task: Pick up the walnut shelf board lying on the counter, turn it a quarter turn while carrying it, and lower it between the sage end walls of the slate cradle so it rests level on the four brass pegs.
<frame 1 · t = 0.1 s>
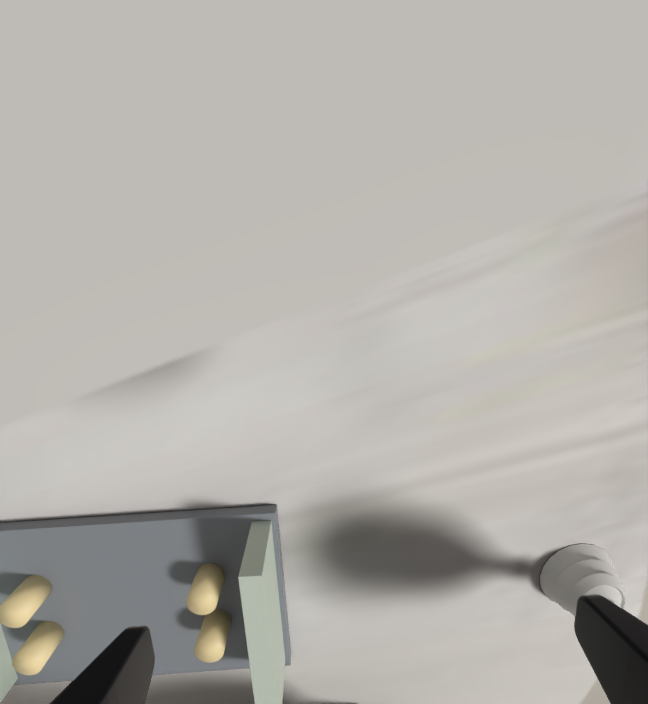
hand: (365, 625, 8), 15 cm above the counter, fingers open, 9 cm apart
chalice: (574, 572, 26), on the counter
peg cradle: (135, 593, 25), on the counter
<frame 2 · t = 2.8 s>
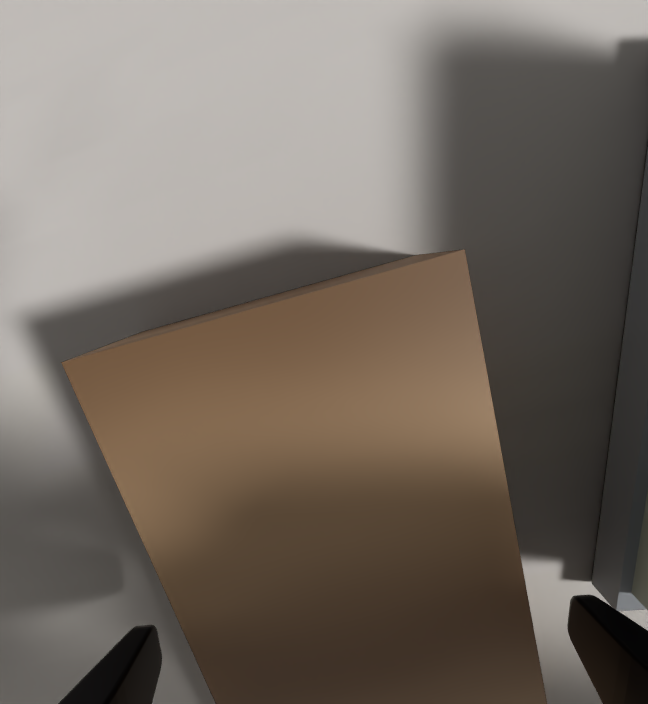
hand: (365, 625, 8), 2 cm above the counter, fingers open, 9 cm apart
shelf board: (356, 551, 10), on the counter
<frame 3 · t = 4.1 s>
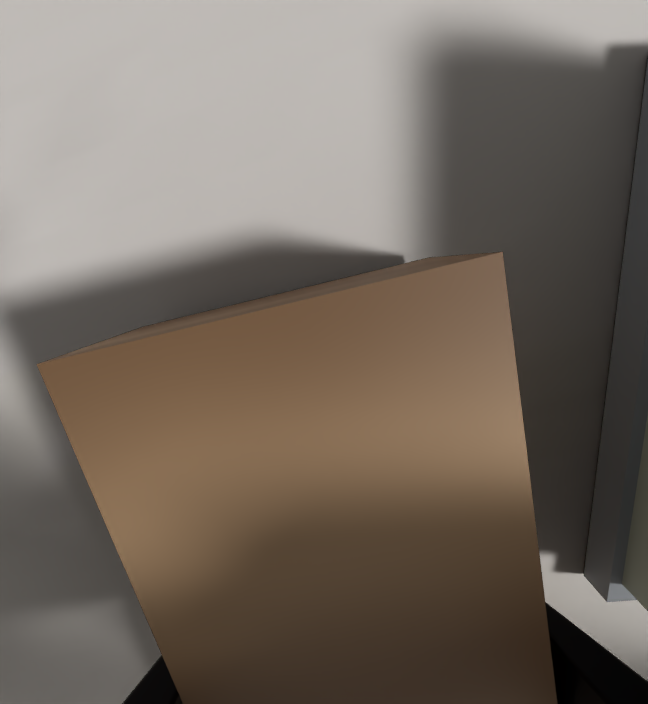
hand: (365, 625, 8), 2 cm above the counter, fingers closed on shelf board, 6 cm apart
shelf board: (356, 572, 9), on the counter, touching gripper
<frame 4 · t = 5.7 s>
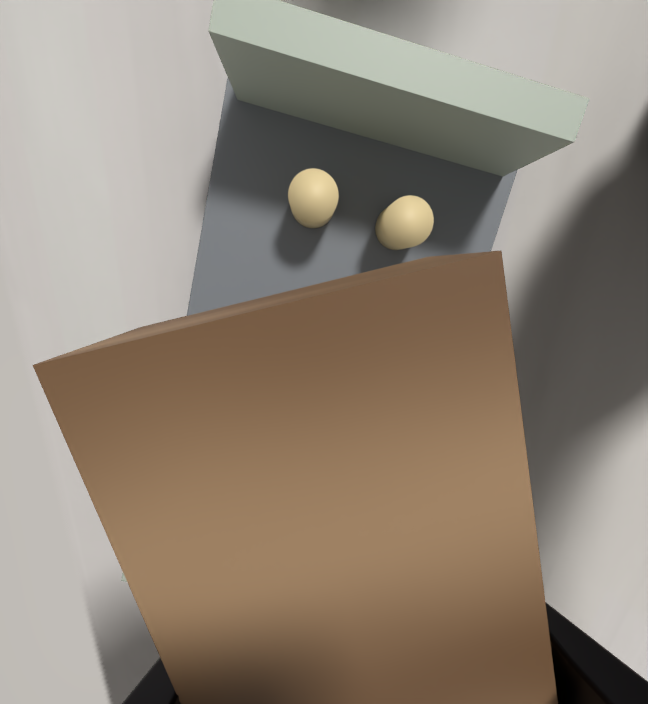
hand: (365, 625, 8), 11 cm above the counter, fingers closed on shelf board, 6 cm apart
peg cradle: (322, 340, 17), on the counter
shelf board: (356, 572, 9), point 9 cm above the counter, touching gripper
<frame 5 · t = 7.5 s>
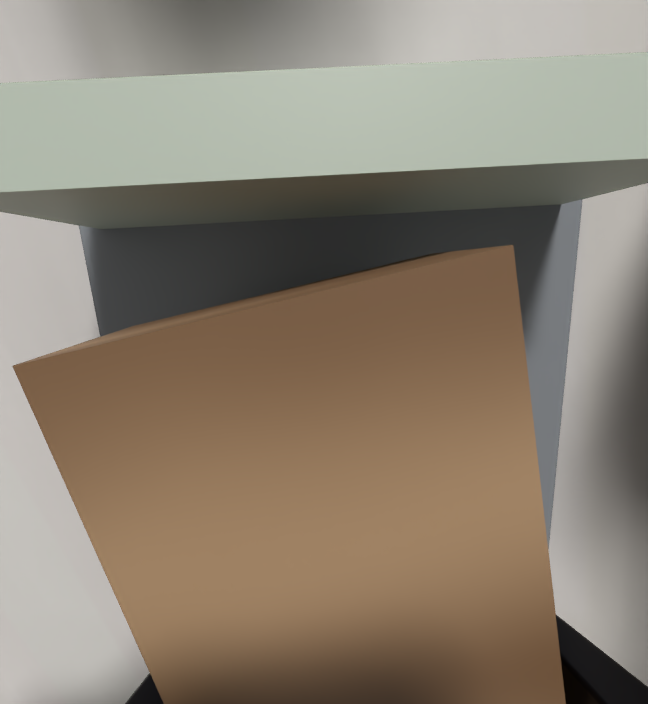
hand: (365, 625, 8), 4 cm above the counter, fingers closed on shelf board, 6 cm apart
peg cradle: (345, 508, 12), on the counter
shelf board: (356, 580, 9), point 3 cm above the counter, touching gripper, peg cradle
when the fingers open (4 cm above the counter, at t = 7.9 s): shelf board stays where it is, resting on peg cradle.
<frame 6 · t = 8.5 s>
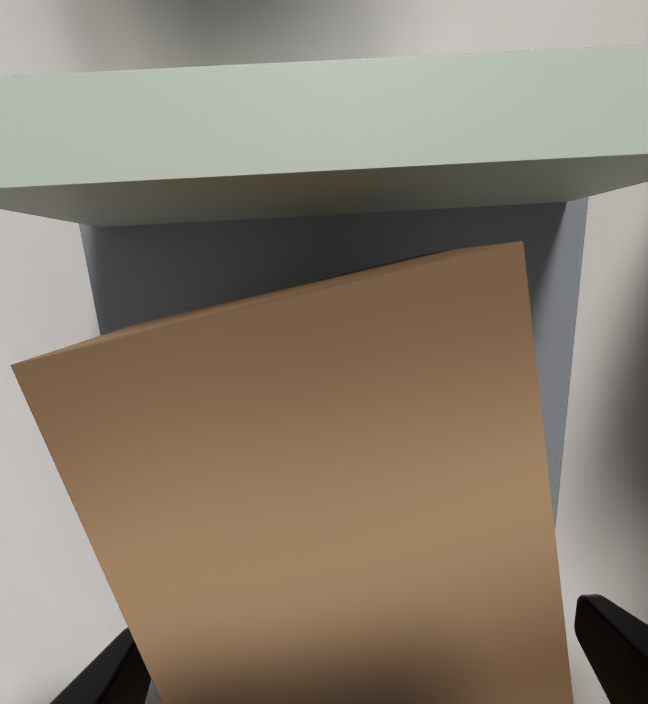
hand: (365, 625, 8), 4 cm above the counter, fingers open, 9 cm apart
peg cradle: (347, 508, 11), on the counter
shelf board: (359, 582, 9), point 3 cm above the counter, touching peg cradle
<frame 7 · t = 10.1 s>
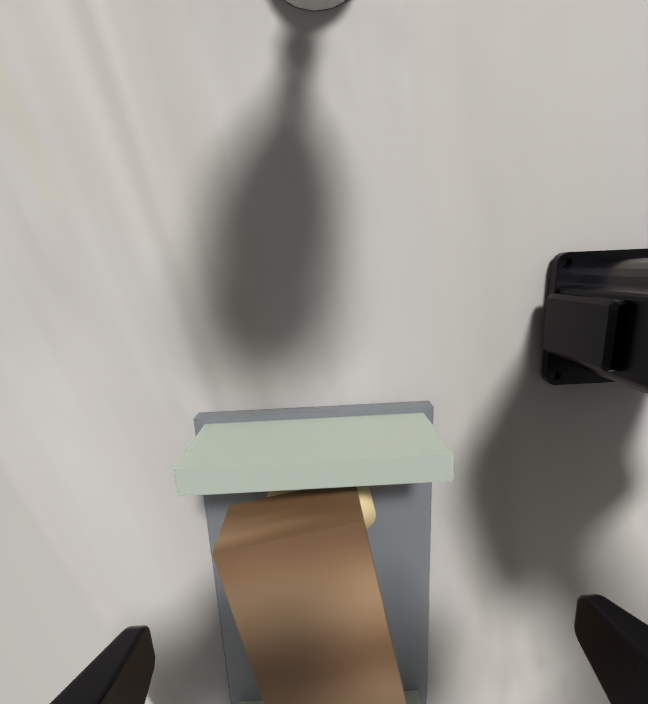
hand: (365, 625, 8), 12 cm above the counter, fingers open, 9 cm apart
peg cradle: (322, 568, 22), on the counter
shelf board: (324, 611, 19), point 3 cm above the counter, touching peg cradle
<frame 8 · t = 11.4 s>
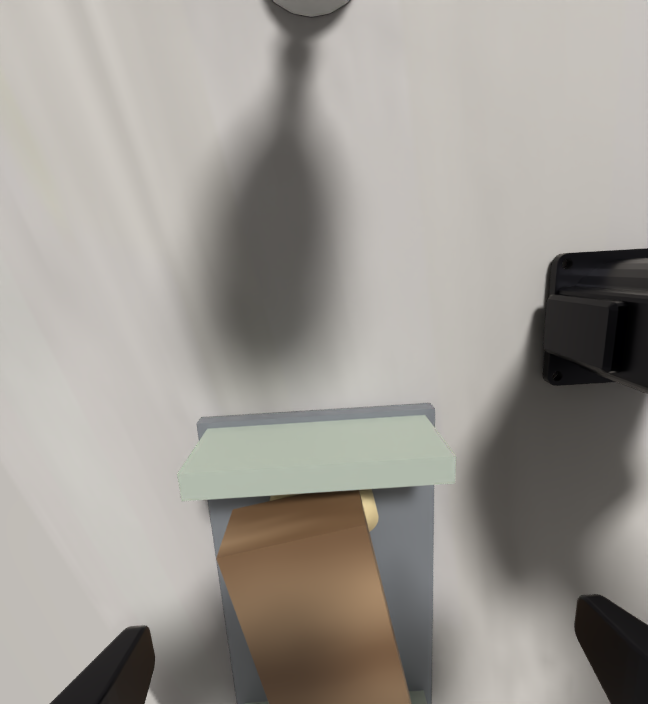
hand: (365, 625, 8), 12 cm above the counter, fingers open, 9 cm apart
peg cradle: (326, 570, 22), on the counter
shelf board: (328, 613, 19), point 3 cm above the counter, touching peg cradle
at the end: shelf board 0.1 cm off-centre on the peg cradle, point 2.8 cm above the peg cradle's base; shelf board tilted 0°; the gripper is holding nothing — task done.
